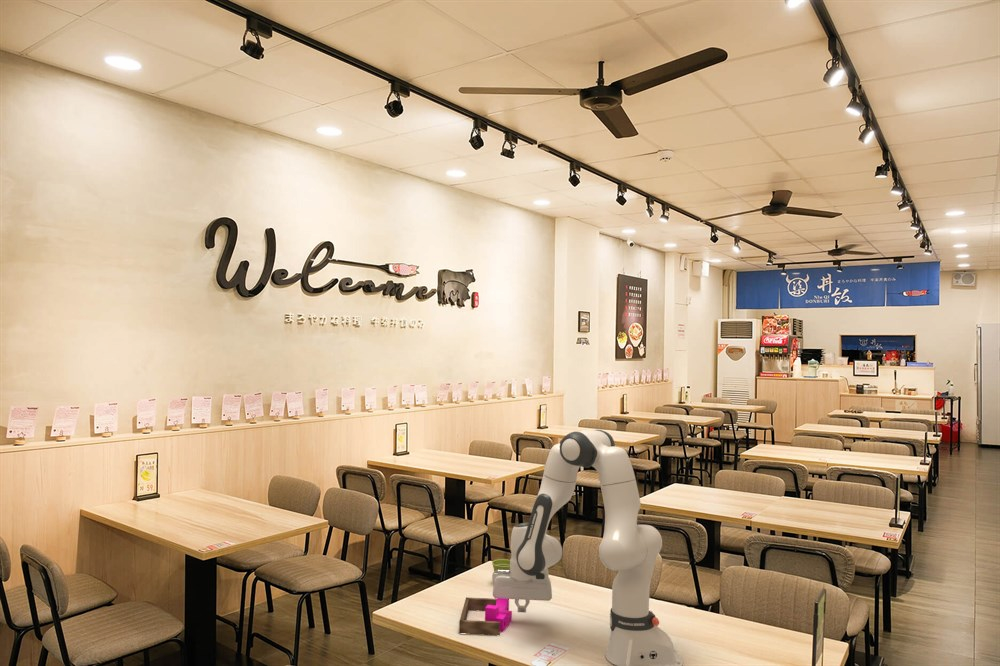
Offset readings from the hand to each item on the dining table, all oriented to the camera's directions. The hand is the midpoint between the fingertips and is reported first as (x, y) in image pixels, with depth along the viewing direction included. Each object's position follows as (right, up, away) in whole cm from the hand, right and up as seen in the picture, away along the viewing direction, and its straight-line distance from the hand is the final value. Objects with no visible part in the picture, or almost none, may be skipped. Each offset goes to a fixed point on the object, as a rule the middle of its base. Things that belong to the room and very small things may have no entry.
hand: (521, 611), depth 227 cm
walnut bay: (-14, -3, 0) cm, 14 cm away
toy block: (-7, -4, 0) cm, 8 cm away
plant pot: (-6, -5, +37) cm, 38 cm away
